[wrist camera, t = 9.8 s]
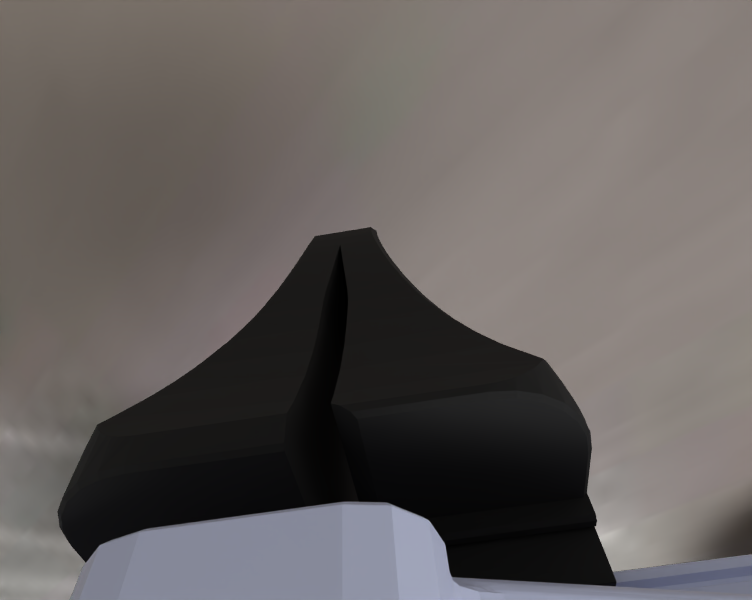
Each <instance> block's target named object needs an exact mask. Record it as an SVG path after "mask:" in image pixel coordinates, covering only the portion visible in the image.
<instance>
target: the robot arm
mask: <svg viewBox="0 0 752 600" xmlns="http://www.w3.org/2000/svg"><path fill="white" fill-rule="evenodd" d="M591 451H592V445H591V435H590V430H589V428H588V426H587V424H586V421H585V419H584V417H583V415H582V413H581V411H580V409H579V407H578V406H577V404H576V402H575V401H574V399H573V397H572V396H571V395H570V393H569V392H568V390H567V389H566V387H565V386H564V384H563V383H562V381H561V380H560V379H559V377H558V376H557V375H556V373H555V372H554V371H553V369H552V368H551V367H550V365H549V364H548V363H547V362H546V361H545V360H544V359H543V358H540V357H537V356H534V355H531V354H528V353H526V352H523V351H520V350H517V349H514V348H511V347H509V346H506V345H503V344H501V343H498V342H496V341H494V340H492V339H490V338H488V337H486V336H483V335H481V334H479V333H477V332H475V331H473V330H472V329H470V328H468V327H467V326H465V325H463V324H462V323H460V322H458V321H457V320H455V319H453V318H452V317H451V316H449V315H448V314H446V313H445V312H444V311H442V310H441V309H440V308H438V307H437V306H436V305H435V304H433V303H432V302H431V301H430V300H429V299H427V298H426V297H425V296H424V295H423V294H422V293H421V292H420V291H419V290H418V289H417V288H416V287H415V286H414V285H413V284H412V283H411V282H410V281H409V280H408V279H407V278H406V277H405V276H404V274H403V273H402V272H401V271H400V270H399V268H398V267H397V266H396V265H395V263H394V262H393V261H392V260H391V258H390V257H389V255H388V254H387V252H386V251H385V249H384V248H383V246H382V244H381V242H380V240H379V238H378V236H377V231H375V230H374V229H372V228H371V227H369V228H363V229H357V230H351V231H345V232H338V233H332V234H326V235H320V236H315V237H314V238H313V240H312V241H311V243H310V244H309V245H308V247H307V248H306V250H305V251H304V253H303V255H302V256H301V258H300V259H299V261H298V262H297V264H296V265H295V267H294V268H293V269H292V271H291V272H290V274H289V275H288V276H287V278H286V279H285V281H284V282H283V283H282V285H281V286H280V287H279V289H278V290H277V291H276V292H275V294H274V295H273V296H272V297H271V299H270V300H269V301H268V302H267V303H266V305H265V306H264V307H263V308H262V309H261V310H260V311H259V313H258V314H257V315H256V316H255V317H254V318H253V319H252V320H251V321H250V322H249V323H248V324H247V325H246V326H245V327H244V328H243V329H242V330H240V331H239V332H238V333H237V334H236V335H235V336H234V337H233V338H232V339H231V340H230V341H228V342H227V343H226V344H225V345H223V346H222V347H221V348H220V349H218V350H217V351H216V352H215V353H213V354H212V355H211V356H210V357H208V358H207V359H206V360H205V361H203V362H202V363H201V364H199V365H198V366H197V367H195V368H194V369H192V370H191V371H189V372H188V373H187V374H185V375H184V376H182V377H181V378H179V379H178V380H176V381H175V382H173V383H171V384H170V385H168V386H167V387H165V388H164V389H162V390H160V391H159V392H157V393H155V394H154V395H152V396H150V397H149V398H147V399H145V400H143V401H141V402H139V403H138V404H136V405H134V406H132V407H130V408H128V409H126V410H125V411H123V412H121V413H119V414H117V415H115V416H113V417H112V418H110V419H108V420H106V421H104V422H102V423H100V424H98V425H97V427H96V429H95V430H94V432H93V434H92V436H91V438H90V440H89V442H88V444H87V446H86V448H85V450H84V452H83V454H82V457H81V459H80V461H79V463H78V465H77V467H76V470H75V472H74V474H73V476H72V478H71V480H70V483H69V485H68V487H67V489H66V491H65V493H64V496H63V498H62V501H61V504H60V506H59V509H58V518H59V525H60V528H61V530H62V532H63V533H64V535H65V537H66V538H67V540H68V542H69V543H70V544H71V546H72V547H73V548H74V549H75V551H76V552H77V553H78V554H79V555H80V556H81V558H82V559H83V560H84V561H85V562H86V563H85V565H84V566H83V567H82V570H81V572H80V575H79V578H78V580H77V583H76V585H75V588H74V590H73V593H72V596H71V598H70V600H752V554H749V555H741V556H733V557H726V558H718V559H710V560H702V561H694V562H687V563H679V564H671V565H663V566H656V567H648V568H640V569H632V570H624V571H617V572H613V571H612V569H611V566H610V564H609V561H608V559H607V557H606V554H605V552H604V549H603V547H602V544H601V542H600V539H599V537H598V534H597V532H596V529H595V527H594V526H596V523H597V519H596V514H595V511H594V509H593V507H592V504H591V502H590V499H589V497H588V495H587V486H588V477H589V468H590V459H591Z"/></svg>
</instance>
